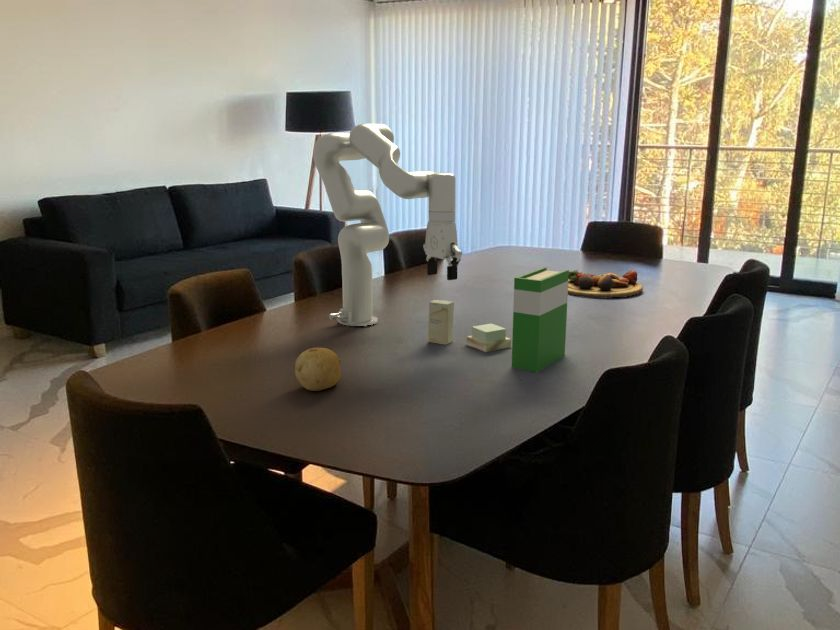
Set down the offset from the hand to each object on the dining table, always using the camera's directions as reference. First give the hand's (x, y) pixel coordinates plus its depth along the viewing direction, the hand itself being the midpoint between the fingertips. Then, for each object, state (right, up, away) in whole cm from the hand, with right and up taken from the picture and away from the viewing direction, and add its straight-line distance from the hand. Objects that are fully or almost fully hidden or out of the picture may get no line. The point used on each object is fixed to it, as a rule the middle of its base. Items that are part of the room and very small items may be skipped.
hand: (442, 277), depth 223 cm
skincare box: (0, -19, +5) cm, 20 cm away
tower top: (+13, -17, 0) cm, 22 cm away
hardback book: (+26, -24, -13) cm, 37 cm away
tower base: (+13, -20, +1) cm, 24 cm away
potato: (-31, -29, -34) cm, 54 cm away
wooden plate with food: (+63, -2, +76) cm, 98 cm away
